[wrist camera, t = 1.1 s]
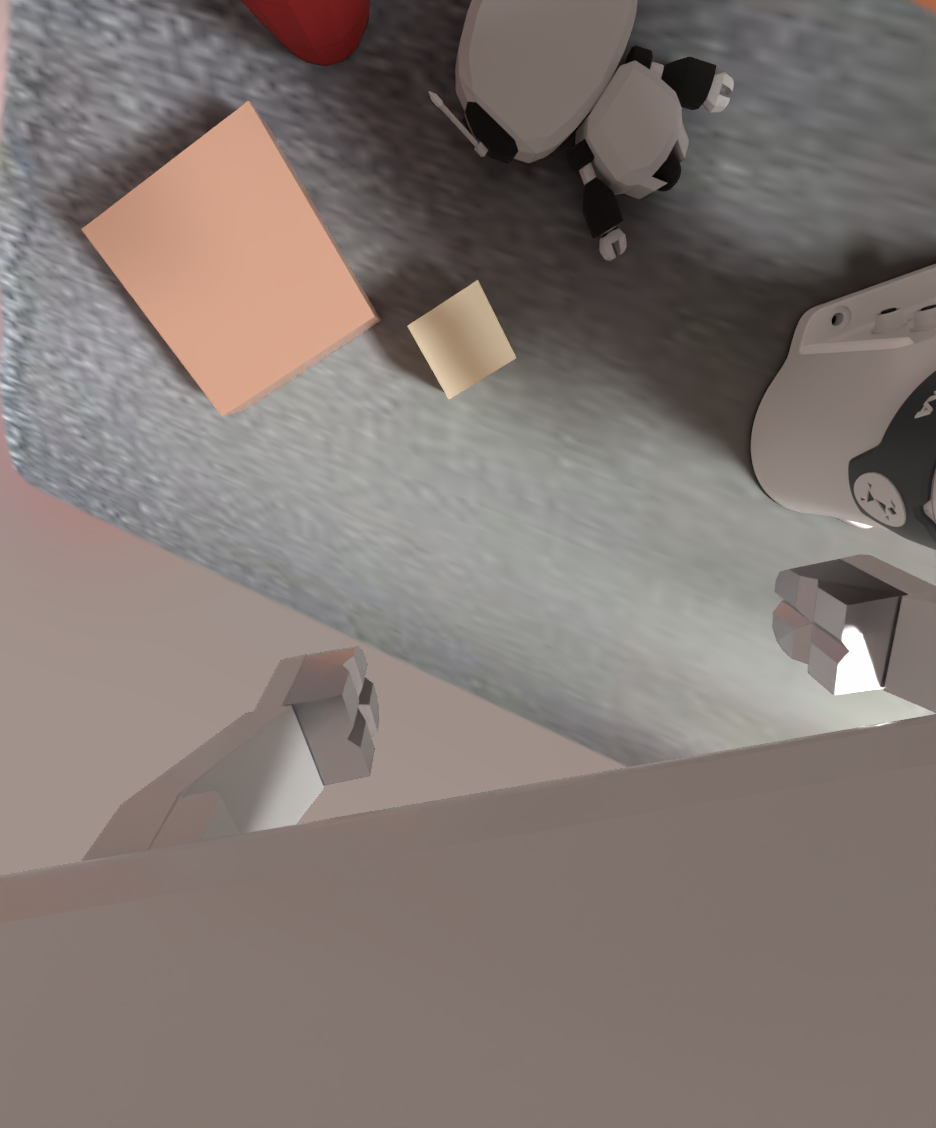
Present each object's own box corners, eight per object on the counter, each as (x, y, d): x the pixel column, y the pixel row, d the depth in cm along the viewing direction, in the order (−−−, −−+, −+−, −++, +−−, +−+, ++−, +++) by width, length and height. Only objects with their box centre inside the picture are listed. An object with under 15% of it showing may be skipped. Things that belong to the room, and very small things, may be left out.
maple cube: (472, 289, 35) (477, 279, 30) (506, 357, 36) (516, 358, 32) (411, 329, 35) (407, 325, 31) (447, 393, 37) (448, 399, 33)
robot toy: (719, 101, 32) (541, -117, 27) (765, 68, 28) (565, -197, 23) (595, 279, 36) (417, 114, 31) (620, 273, 31) (420, 81, 26)
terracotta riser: (271, 130, 31) (248, 100, 27) (381, 320, 35) (374, 316, 31) (121, 243, 32) (81, 229, 29) (243, 410, 37) (222, 416, 33)
